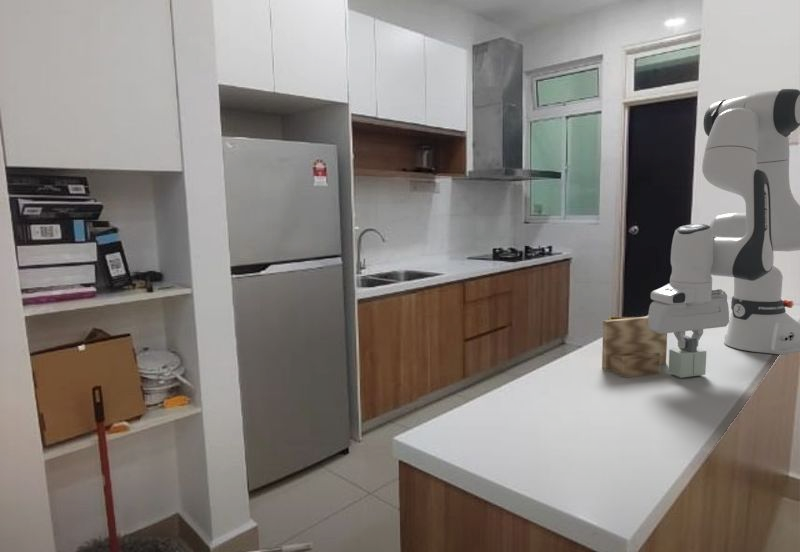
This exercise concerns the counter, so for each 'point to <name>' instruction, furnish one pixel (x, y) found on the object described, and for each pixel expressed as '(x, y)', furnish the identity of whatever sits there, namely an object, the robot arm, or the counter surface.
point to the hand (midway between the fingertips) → (687, 347)
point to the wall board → (632, 347)
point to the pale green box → (687, 360)
